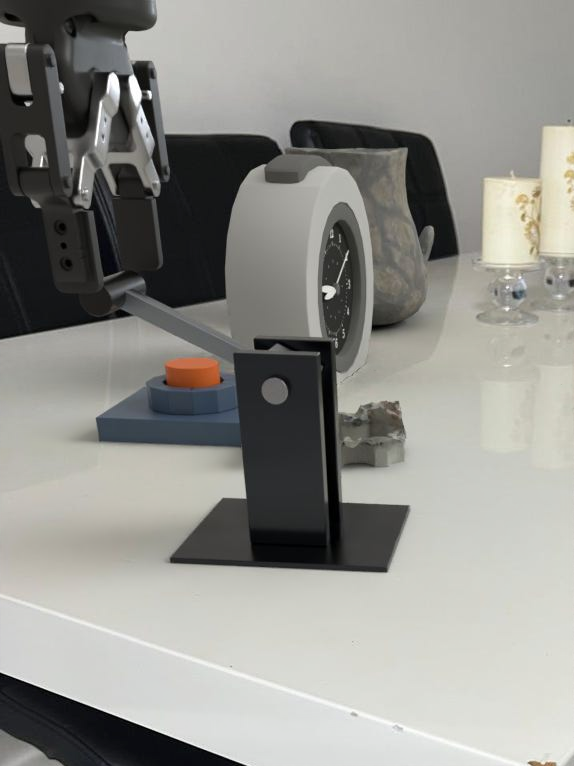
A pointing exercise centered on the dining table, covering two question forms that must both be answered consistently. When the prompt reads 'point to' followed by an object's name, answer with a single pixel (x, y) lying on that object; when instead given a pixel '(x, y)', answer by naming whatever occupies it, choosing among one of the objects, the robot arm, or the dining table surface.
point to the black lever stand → (292, 473)
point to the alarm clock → (301, 258)
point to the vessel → (387, 228)
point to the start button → (192, 372)
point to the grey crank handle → (159, 314)
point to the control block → (175, 415)
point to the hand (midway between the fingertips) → (114, 280)
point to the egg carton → (372, 435)
